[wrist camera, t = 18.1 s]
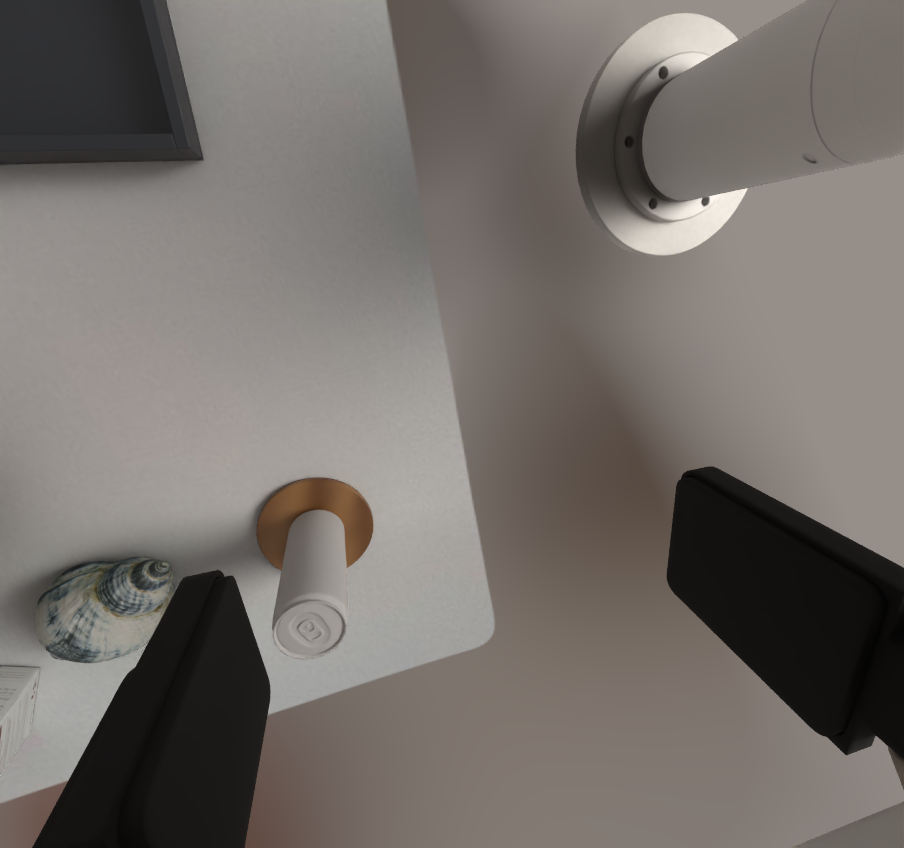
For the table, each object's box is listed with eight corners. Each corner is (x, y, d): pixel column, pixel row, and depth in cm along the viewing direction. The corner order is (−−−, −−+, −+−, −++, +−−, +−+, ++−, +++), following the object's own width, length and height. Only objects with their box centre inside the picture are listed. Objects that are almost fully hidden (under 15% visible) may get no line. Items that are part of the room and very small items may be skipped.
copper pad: (364, 468, 39) (365, 471, 38) (379, 560, 42) (379, 564, 41) (245, 488, 36) (244, 492, 36) (271, 584, 40) (270, 588, 39)
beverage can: (326, 496, 38) (322, 587, 27) (355, 535, 40) (363, 634, 29) (277, 524, 38) (253, 627, 27) (309, 562, 39) (298, 673, 28)
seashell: (45, 571, 36) (198, 534, 38) (60, 661, 36) (214, 619, 38) (-26, 593, 30) (161, 548, 32) (-9, 702, 29) (180, 650, 31)
